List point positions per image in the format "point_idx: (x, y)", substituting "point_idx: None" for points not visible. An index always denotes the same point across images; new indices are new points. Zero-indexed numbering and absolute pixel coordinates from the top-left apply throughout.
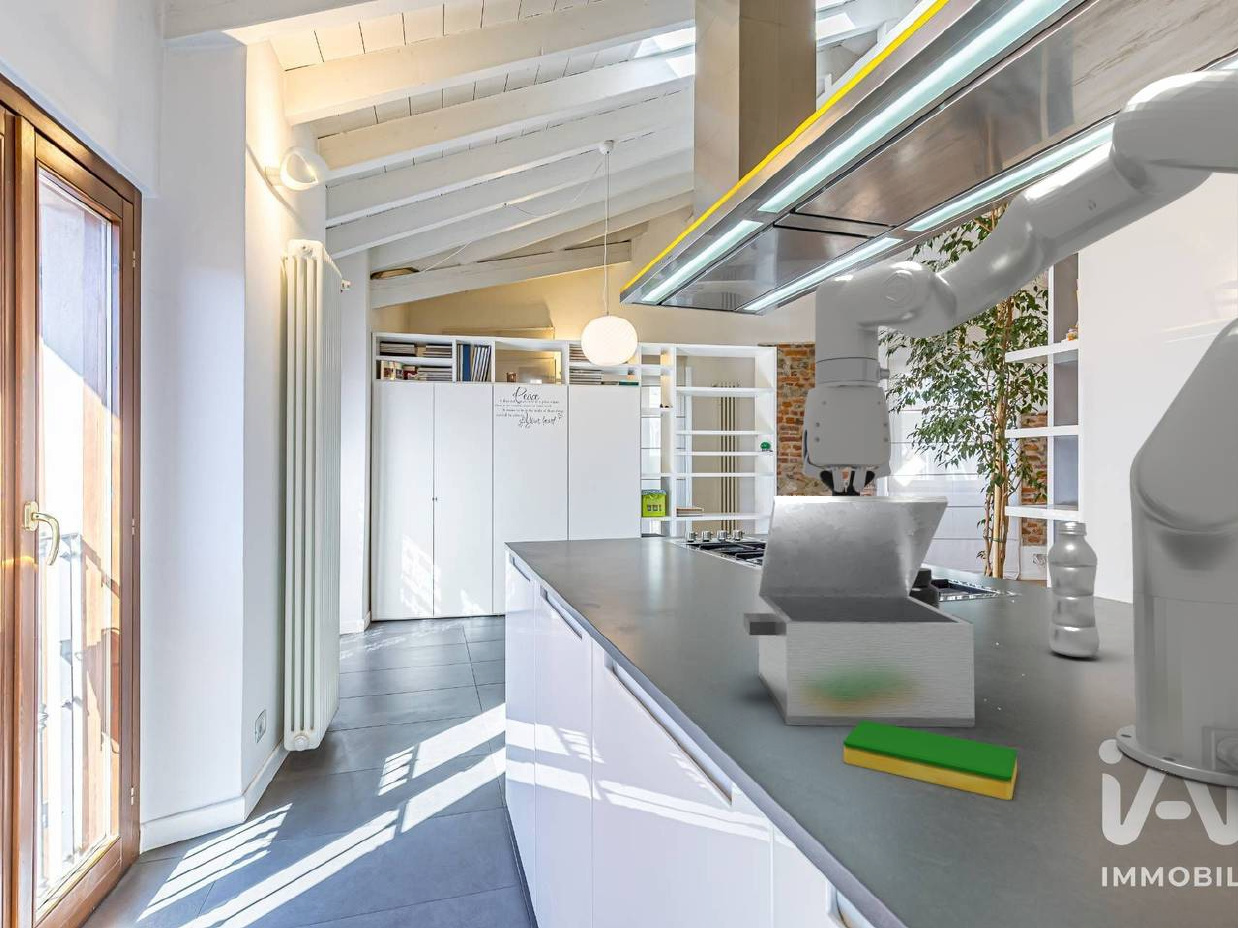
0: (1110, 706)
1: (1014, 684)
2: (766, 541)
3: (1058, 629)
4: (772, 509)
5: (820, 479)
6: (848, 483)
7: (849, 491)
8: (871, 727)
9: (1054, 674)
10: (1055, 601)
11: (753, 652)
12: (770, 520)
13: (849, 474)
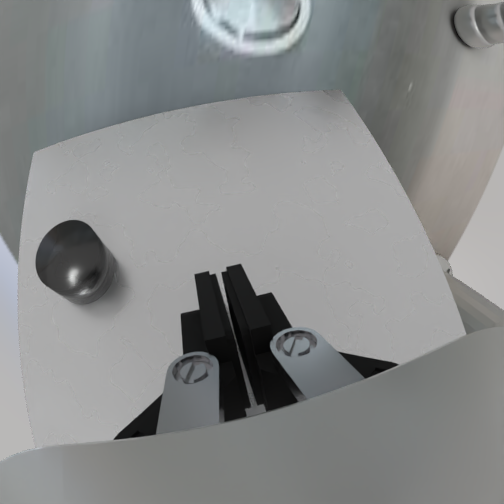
0: (434, 185)
1: (392, 123)
2: (19, 309)
3: (473, 28)
4: (34, 434)
5: (126, 430)
6: (280, 368)
7: (262, 389)
8: None
9: (434, 86)
10: (494, 18)
11: (81, 29)
12: (26, 392)
13: (305, 396)
